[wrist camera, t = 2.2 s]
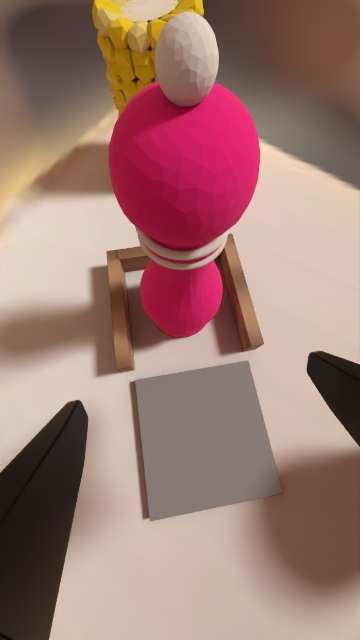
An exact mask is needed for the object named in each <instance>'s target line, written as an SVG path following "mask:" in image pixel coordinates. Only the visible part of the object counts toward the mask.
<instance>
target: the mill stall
mask: <svg viewBox="0 0 360 640" xmlns="http://www.w3.org/2000/svg"><path fill="white" fill-rule="evenodd" d="M217 258H220V261H221V265H222V269H223V273H224V277H225V280H226V284H227V288H228V292H229V296H230V300H231V304H232V307H233V311H234V315H235V319H236V323H237V327H238V331H239V334H240V338H241V342H242V346H243V350H244V351H248V350H254V349H257V348H258V347H260V346H261V345H263V344H264V342H263V338H262V335H261V332H260V328H259V325H258V321H257V318H256V314H255V311H254V307H253V304H252V301H251V297H250V294H249V290H248V287H247V283H246V280H245V276H244V273H243V270H242V266H241V263H240V259H239V256H238V252H237V249H236V245H235V242H234V239H233V235H232V234H228V237H227V241H226V244H225V246H224V248H223V250H222V251H221V253H220V254H219V255H218V256H217V257H216V258H215V259H217ZM150 261H151V258H150V257H149V256H148V255H147V254H146V253H145V252H144V250H143V249H142V247H134V248H126V249H119V250H112V251H107V263H108V275H109V287H110V299H111V312H112V324H113V336H114V348H115V361H116V369H117V370H120V371H122V372H125V371H131V370H135V365H134V355H133V346H132V337H131V327H130V318H129V309H128V299H127V290H126V281H125V272H128V271H135V270H142V269H145V268H146V266H147V265H148V264H149V262H150Z"/></svg>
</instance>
